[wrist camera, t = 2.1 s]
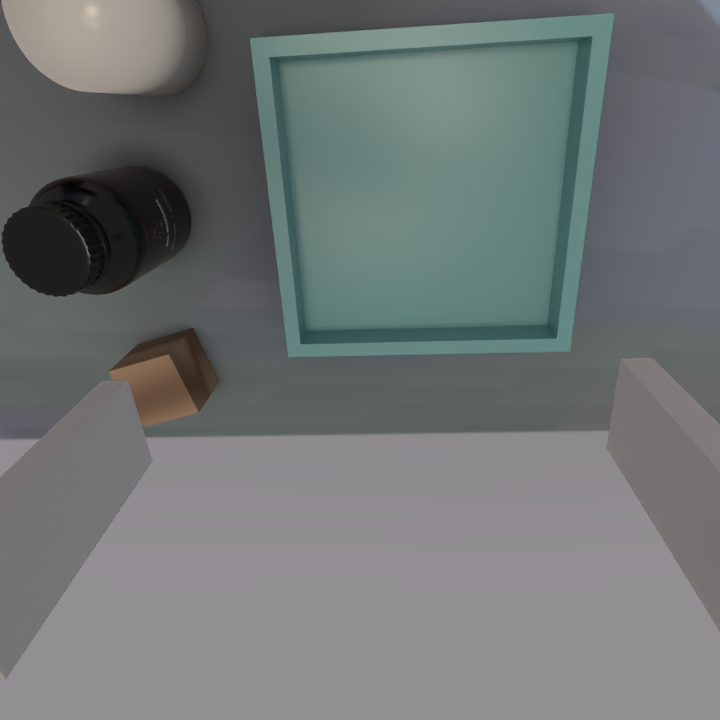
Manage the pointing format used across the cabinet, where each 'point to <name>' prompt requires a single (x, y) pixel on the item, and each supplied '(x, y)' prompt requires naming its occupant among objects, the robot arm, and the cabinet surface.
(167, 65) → the cream round piece
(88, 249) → the supplement bottle
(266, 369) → the cabinet surface
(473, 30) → the tray
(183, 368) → the walnut block
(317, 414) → the cabinet surface
